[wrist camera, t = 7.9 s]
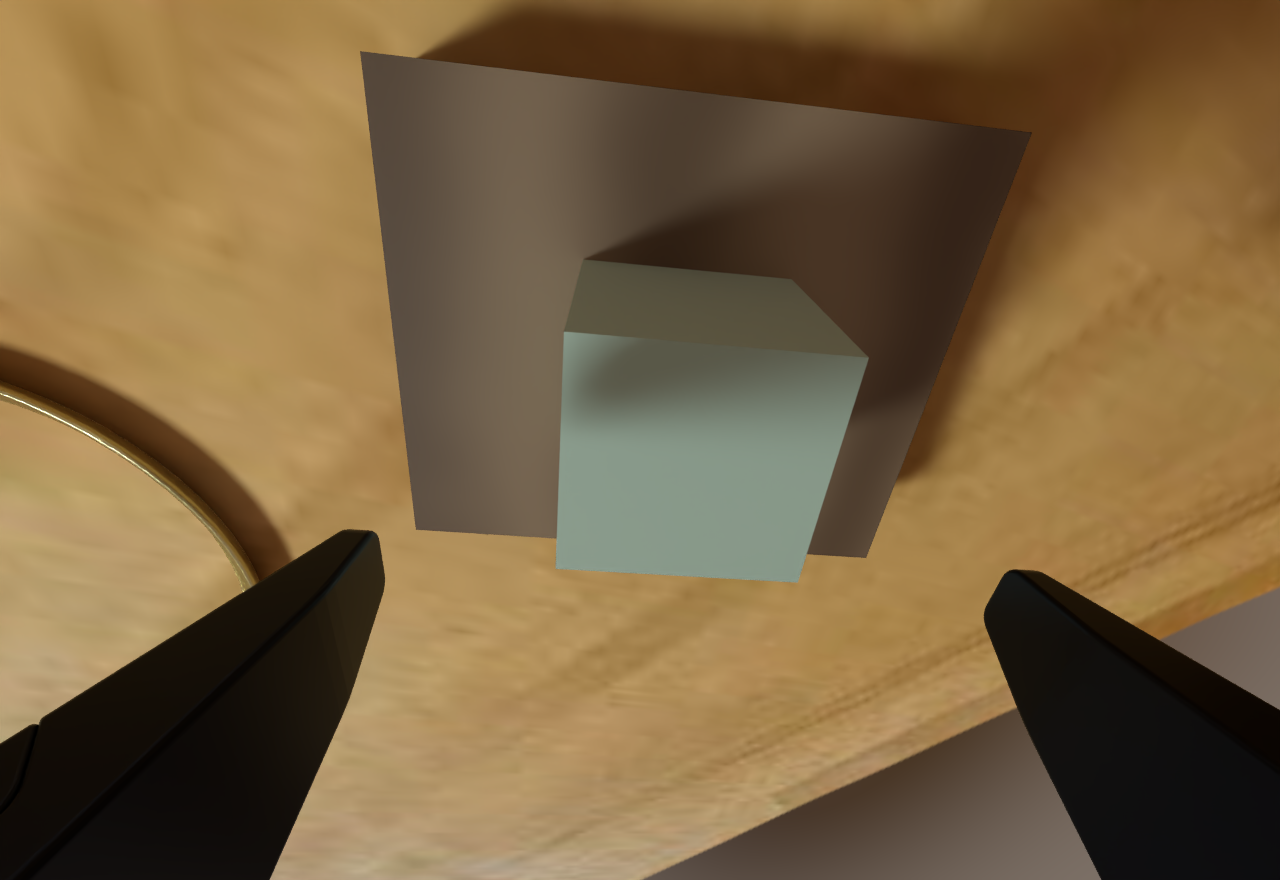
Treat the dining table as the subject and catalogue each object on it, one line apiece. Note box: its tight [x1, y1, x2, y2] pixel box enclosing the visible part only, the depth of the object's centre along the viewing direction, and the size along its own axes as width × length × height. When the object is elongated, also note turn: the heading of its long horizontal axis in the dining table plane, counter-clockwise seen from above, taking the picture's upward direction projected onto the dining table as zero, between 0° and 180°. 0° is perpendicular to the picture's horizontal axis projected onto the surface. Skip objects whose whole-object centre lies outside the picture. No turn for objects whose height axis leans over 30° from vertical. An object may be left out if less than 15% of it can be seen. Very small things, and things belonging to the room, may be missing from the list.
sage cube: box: [556, 259, 869, 582], centre depth 13 cm, size 5×5×5 cm
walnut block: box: [360, 51, 1031, 558], centre depth 16 cm, size 14×12×3 cm
